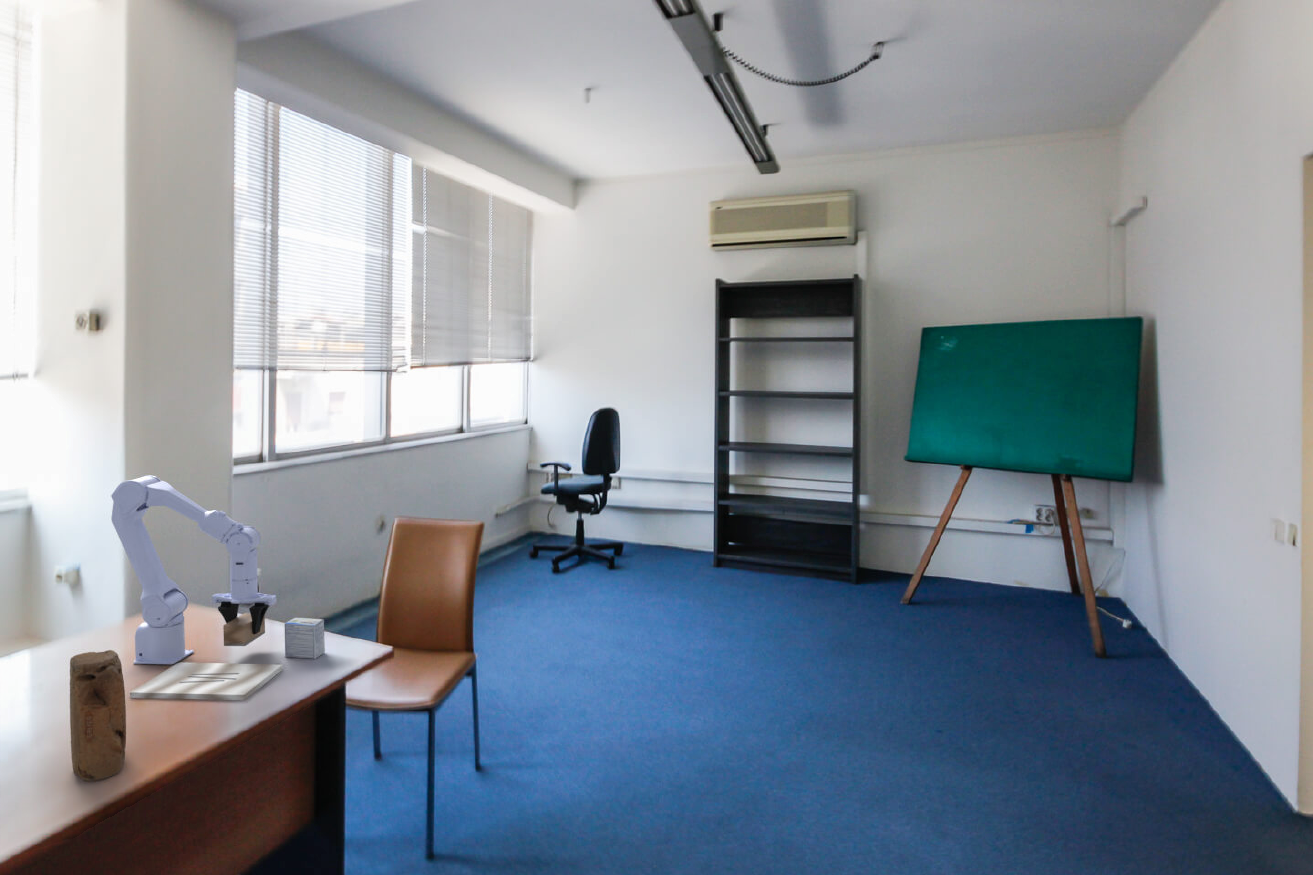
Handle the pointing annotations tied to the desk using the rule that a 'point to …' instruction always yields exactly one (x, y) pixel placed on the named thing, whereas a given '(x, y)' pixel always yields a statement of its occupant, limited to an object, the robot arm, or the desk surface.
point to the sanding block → (241, 631)
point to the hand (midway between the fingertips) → (244, 632)
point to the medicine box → (304, 638)
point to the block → (97, 714)
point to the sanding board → (207, 681)
